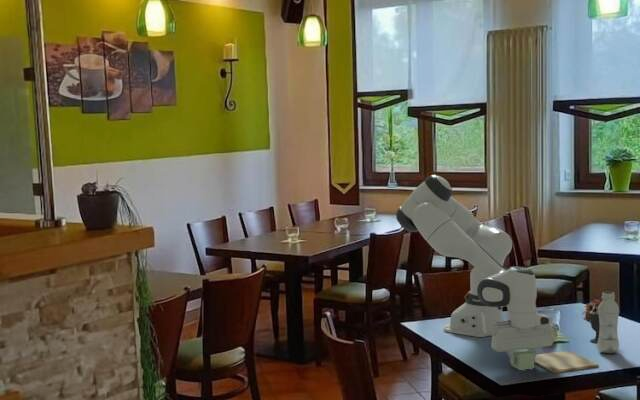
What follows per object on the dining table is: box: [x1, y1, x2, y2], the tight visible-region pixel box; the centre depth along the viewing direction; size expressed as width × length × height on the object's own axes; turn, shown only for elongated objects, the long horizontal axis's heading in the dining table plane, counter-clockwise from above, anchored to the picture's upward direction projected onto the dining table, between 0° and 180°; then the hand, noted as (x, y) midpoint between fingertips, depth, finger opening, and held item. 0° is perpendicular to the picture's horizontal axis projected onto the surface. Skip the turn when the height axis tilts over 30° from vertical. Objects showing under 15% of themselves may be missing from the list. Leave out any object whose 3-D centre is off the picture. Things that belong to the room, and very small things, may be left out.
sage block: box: [510, 349, 535, 371], centre depth 242 cm, size 5×5×5 cm
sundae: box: [588, 298, 603, 344], centre depth 266 cm, size 7×7×15 cm
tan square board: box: [534, 349, 600, 374], centre depth 246 cm, size 16×16×1 cm
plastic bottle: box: [596, 291, 620, 354], centre depth 253 cm, size 6×7×20 cm
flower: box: [581, 298, 603, 320], centre depth 296 cm, size 10×9×8 cm
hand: (522, 362), depth 242 cm, fingers closed on sage block, 5 cm apart
